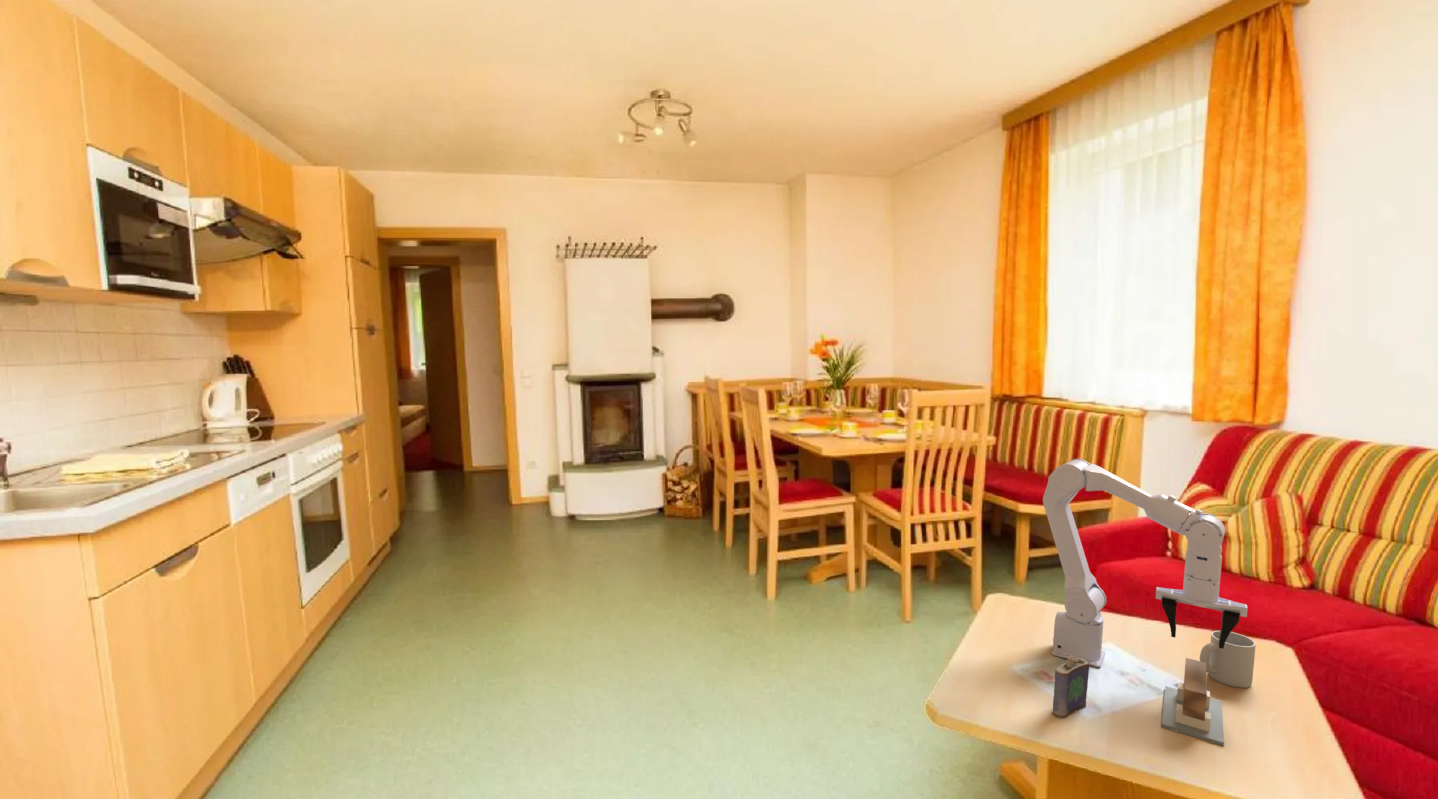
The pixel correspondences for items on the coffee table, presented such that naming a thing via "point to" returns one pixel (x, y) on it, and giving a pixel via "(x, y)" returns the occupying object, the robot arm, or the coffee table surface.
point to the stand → (1191, 726)
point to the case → (1195, 689)
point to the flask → (1070, 686)
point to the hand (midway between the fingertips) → (1196, 640)
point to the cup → (1230, 659)
